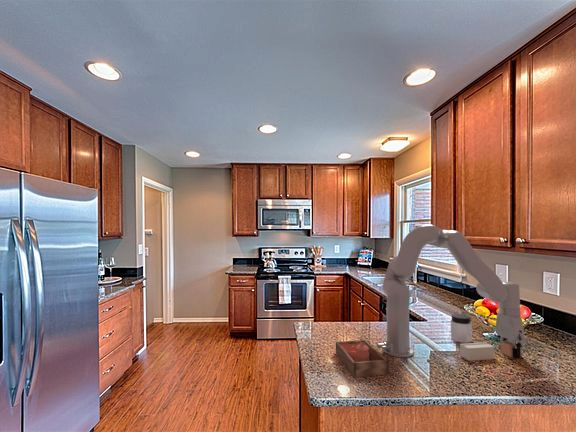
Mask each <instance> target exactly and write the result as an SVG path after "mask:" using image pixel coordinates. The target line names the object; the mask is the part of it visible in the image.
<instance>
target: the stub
mask: <svg viewBox="0 0 576 432" xmlns="http://www.w3.org/2000/svg"><path fill="white" fill-rule="evenodd" d="M516 344H517V342H516ZM513 347H514V346H513V342H512V341H511V340H508V341H501V342H500V353H501V354H503V355H505V356H506V357H508V358H514V357H513ZM520 352H521V353H522V348H520Z"/></svg>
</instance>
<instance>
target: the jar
mask: <svg viewBox="0 0 576 432" xmlns="http://www.w3.org/2000/svg"><path fill="white" fill-rule="evenodd" d="M471 319H472V318H471V316H469V315H466V314H462V313H460V314H459V313H453V314H451V319H450V338H451V340H452V341H455V342H459V343H462V344H468V343H472V342H473V326H472V322H471V321H472V320H471Z"/></svg>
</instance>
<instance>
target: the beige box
mask: <svg viewBox="0 0 576 432" xmlns="http://www.w3.org/2000/svg"><path fill="white" fill-rule="evenodd" d="M459 353H460V354H459V355H460V357H461V358H463V359H465V360H467V361H480V360H481V361H482V360H496V356H495V346H494V345H491V344H490V343H487V342H473V343H472V342H469V343H459Z"/></svg>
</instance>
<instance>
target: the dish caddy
mask: <svg viewBox="0 0 576 432" xmlns="http://www.w3.org/2000/svg"><path fill="white" fill-rule="evenodd" d="M360 342H364V345H366V346H368V348H369V350H368V352H369V357H368V358H369V359H371V360H370V361H364V362H355V361H354V360H353V359H352V358H351V357H350V356H349V354H348V353H347V352H346V351H345V350H344V349H343V347H342V346H341V345H340V344H355V343H360ZM335 354H336V355H337V356H338V358H339V359H340V361H341V362H342V363H343V365H344V366H345V368H346V369H348V371H349V373H350V374H351V375H352V377H354V378H356V377H371V376H381V375H382V376H383V375H389V360H388V359H387V358H386V357H384V355H382V354H381V352H379V351H378V350H377V349H376V348H375V347H373V346H372V345H371V344H370V343H369V342H368V341H367V340H366V339H359V340H356V339H355V340H342V341H341V340H340V341H335Z"/></svg>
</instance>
